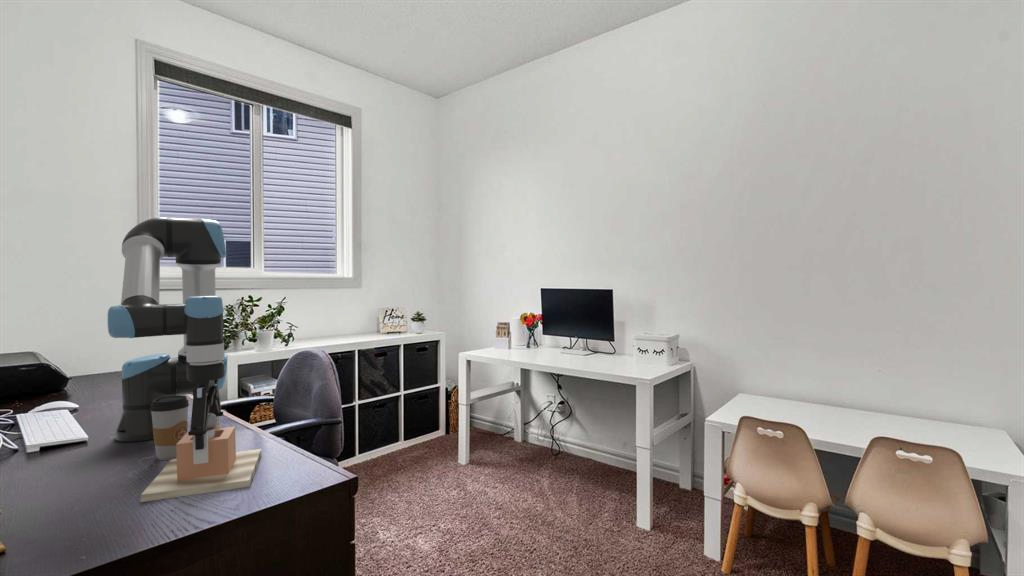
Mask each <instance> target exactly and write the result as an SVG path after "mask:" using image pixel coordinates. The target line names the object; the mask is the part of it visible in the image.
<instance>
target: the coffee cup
mask: <svg viewBox="0 0 1024 576" xmlns="http://www.w3.org/2000/svg"><path fill="white" fill-rule="evenodd" d="M189 405H190V404H189V399H188V397H187V396H186V395H178V396H167V397H161V398H157V399H154V400H153V401H152V404H151V409H150V410H151V413H152V423H153V436H154V439H153V441H154V442H153V443H154V445H153V446H154V447H155V448H154V450H155V457H156V458H157V460H160V461H170V460H171V459H177V451H176V444H177V443H178V442H179V441H180V440H181V438H182V437H183V436H184V435H185V434H186V433H187V432H188V425H189V424H188V423H189V422H188V417H189V416H188V414H189Z"/></svg>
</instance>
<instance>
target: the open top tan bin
mask: <svg viewBox="0 0 1024 576" xmlns="http://www.w3.org/2000/svg"><path fill="white" fill-rule="evenodd" d="M188 432H190V430H189V431H188V430H187V433H186V434H185V435H184V436H183V437H182V438H181V440H180V441H179V442H178V443H177V444H176V451H177V458H176V459H177V480H183V479H190V478H198V477H206V476H213V475H221V474H229V472H230V470H231V468H232V466H233V464H234V462H235V460H236V452H237V447H236V446H237V445H236V440H237V439H236V426H229V427H220V428H217V429H215V438H208V463H201V464H194V462H193V435H191V436H189V435H188Z"/></svg>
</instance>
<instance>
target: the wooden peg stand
mask: <svg viewBox="0 0 1024 576" xmlns="http://www.w3.org/2000/svg"><path fill="white" fill-rule="evenodd" d="M217 424H218V418H217V416H216V415H215V414H213V413H209V414H208V422H207V432H208V438H215V427H216V426H217ZM200 428H201V427H200ZM207 432H206V433H207ZM261 454H262V448H257V449H249V450H241V451H240V450H239V451H236V460H235V462H234V464H233V466H232V468H231V470H230V472H229V474H221V475H213V476H206V477H198V478H190V479H183V480H177V458H175V459H170V460H169V462H168V463H167V464H166V465H165V466H164V467H163V469H161V471H160V472H159V473H158V474H157V475H156V477H155V478H154V479H153V480H152V481H151V482H150V483H149V485H148V486H147V487H146V488H145V490H144V491H143V492H142V493H141V494H140V503H145V502H151V501H159V500H165V499H171V498H173V499H174V498H178V497H179V498H180V497H186V496H194V495H200V494H201V495H202V494H208V493H216V492H222V491H230V490H237V489H243V488H250V487H251V486H252V485H251V484H252V482H253V479H254V476H255V473H256V471H257V468H258V465H259V462H260V460H261V458H262V455H261Z"/></svg>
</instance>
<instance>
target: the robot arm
mask: <svg viewBox="0 0 1024 576" xmlns="http://www.w3.org/2000/svg"><path fill="white" fill-rule="evenodd" d="M122 240H123V241H122V243H121V254H122V256H123V258H124V268H123V281H122V290H121V291H122V292H121V300H120V304H119V305H113V306H110V307H109V308H108V310H107V330H108V331H107V333H108V334H109V336H110V337H111V338H114V339H124V338H125V339H135V338H136V339H137V338H149V337H150V338H151V337H161V336H181V335H183V346H182V347H181V348H180V349H179V350H178V352H177V357H171V354H169V353H156V354H151V355H145V356H140V357H136V358H133V359H129V360H127V361H126V362H124V363H123V364H122V367H121V377H120V380H121V385H122V386H121V387H122V388H121V389H122V390H121V391H122V392H121V393H122V394H121V396H122V401H121V402H122V413H121V416H120V418H119V421H118V424H117V426H116V429H115V440H116V441H117V442H122V443H123V442H125V443H129V442H130V443H133V442H143V441H150V440H154V436H153V423H152V413H151V410H150V409H151V404H152V401H153V400H154V399H157V398H161V397H167V396H178V395H180V396H186V395H187V396H188V395H192V408H191V416H190V417H191V419H190V429H189V431H190V432H188V431H187V432H188V435H189V436H191V435H193V462H194V464H201V463H208V432H207V422H208V414H209V413H213V414H215V415H216V416H217V418H218V424H217V426H216V427H215V429H217V428H221V419H220V418H221V417H222V416H223V417H224V411H222V405H221V399H220V390H222V388H224V386H225V383H226V377H227V370H228V355H227V354H226V353H225V342H224V310H225V309H224V306H223V304H224V303H223V299H222V297H221V296H220V295H216V269H217V268H218V267H219V266H220V265H222V264H221V261H222V259H225V258H226V257H227V251H226V250H227V249H226V244H225V243H226V242H225V236H224V232H223V227H222V225H221V223H220V222H219V221H217V220H214V219H208V218H207V219H206V218H193V217H192V218H184V217H167V216H160V217H159V216H158V217H152V218H149V219H146V220H143V221H142V222H139V223H138V224H136V225H135V226H134V227H133V228H131V229H130V230H129V231H128V232H127V233H126V235H125V237H124V238H123V239H122ZM163 258H175V264H176V265H177V266H178V267H179V268H180V269H181V274H182V275H181V277H182V278H181V281H182V283H181V284H182V285H181V286H182V288H181V289H182V303H165V304H163V303H162V304H160V287H161V286H160V282H161V281H160V280H161V279H160V278H161V276H160V275H161V260H162V259H163ZM200 427H201V428H200ZM206 432H207V433H206Z"/></svg>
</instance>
